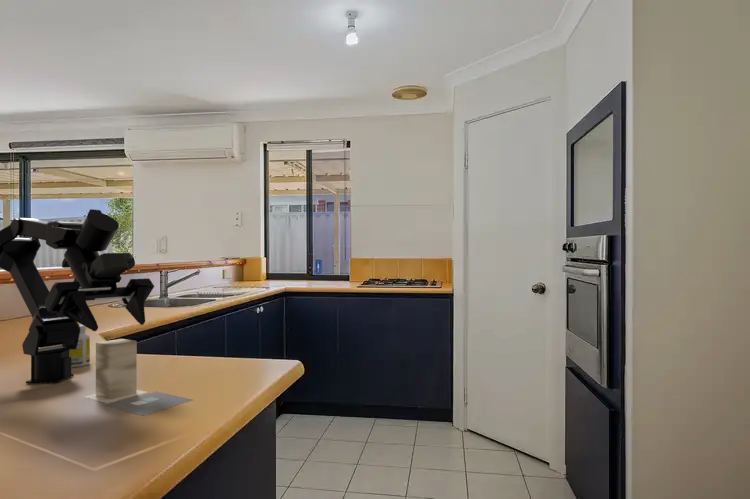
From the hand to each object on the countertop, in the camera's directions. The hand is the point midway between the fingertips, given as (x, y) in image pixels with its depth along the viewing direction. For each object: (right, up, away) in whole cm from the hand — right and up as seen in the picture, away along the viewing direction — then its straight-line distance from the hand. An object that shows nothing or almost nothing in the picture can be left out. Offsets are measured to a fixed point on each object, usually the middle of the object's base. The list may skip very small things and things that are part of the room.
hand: (120, 326), depth 90 cm
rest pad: (-1, -13, 0) cm, 13 cm away
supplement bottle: (-26, -14, +28) cm, 40 cm away
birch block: (-1, -13, +1) cm, 13 cm away
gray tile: (+8, -13, -5) cm, 16 cm away
